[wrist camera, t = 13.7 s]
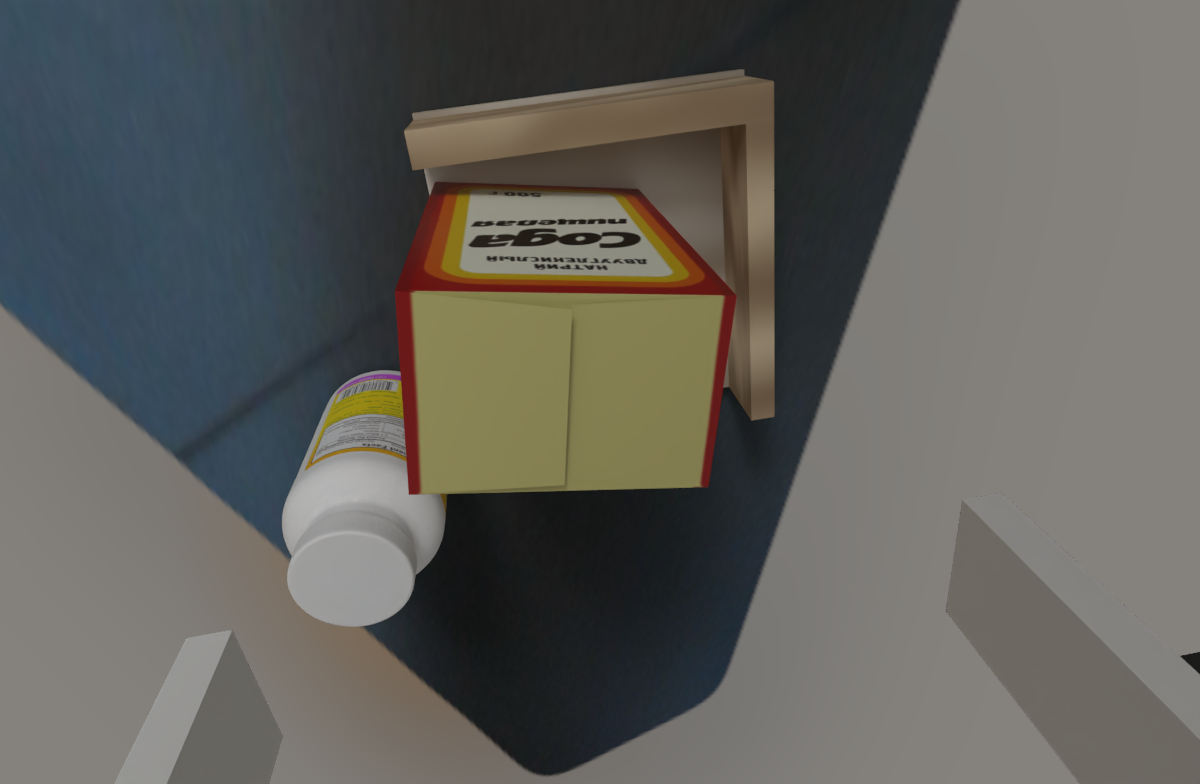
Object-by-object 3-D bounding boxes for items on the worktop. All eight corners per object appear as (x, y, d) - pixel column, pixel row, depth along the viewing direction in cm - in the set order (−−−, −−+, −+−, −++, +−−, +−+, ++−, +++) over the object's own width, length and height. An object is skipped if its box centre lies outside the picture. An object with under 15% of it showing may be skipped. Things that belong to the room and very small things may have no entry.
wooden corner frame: (413, 112, 32) (402, 124, 28) (739, 69, 33) (774, 74, 29) (480, 422, 40) (479, 466, 36) (746, 378, 41) (774, 416, 37)
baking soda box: (638, 188, 35) (740, 300, 20) (627, 317, 37) (711, 493, 23) (435, 181, 33) (393, 295, 19) (440, 315, 36) (407, 502, 22)
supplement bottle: (410, 493, 41) (380, 670, 30) (302, 435, 39) (223, 605, 27) (478, 406, 39) (473, 561, 28) (369, 340, 37) (314, 480, 25)
